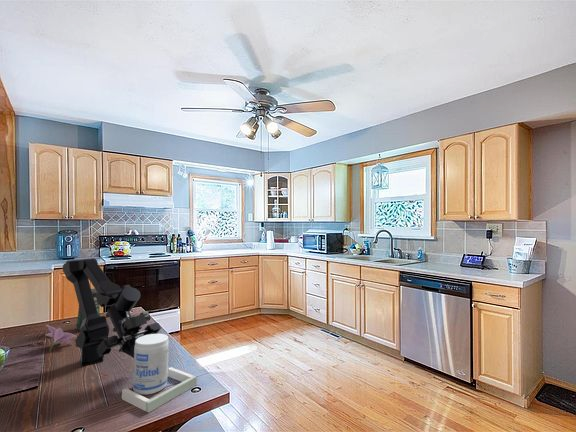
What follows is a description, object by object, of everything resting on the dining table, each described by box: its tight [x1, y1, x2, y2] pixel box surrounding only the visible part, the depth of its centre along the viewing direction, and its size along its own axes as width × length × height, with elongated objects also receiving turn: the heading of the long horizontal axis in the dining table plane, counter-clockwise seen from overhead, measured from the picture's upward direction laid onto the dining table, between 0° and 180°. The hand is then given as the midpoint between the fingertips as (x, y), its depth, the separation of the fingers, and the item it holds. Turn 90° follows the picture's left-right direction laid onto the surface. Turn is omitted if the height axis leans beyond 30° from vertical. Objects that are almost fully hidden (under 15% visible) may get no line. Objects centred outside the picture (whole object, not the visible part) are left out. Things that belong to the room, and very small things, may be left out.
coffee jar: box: [75, 288, 101, 332], centre depth 146 cm, size 10×8×19 cm
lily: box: [45, 324, 77, 352], centre depth 123 cm, size 12×12×10 cm
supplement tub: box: [132, 333, 169, 396], centre depth 94 cm, size 10×10×15 cm
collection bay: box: [121, 366, 198, 413], centre depth 91 cm, size 12×16×2 cm
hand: (142, 361), depth 96 cm, fingers closed, pressing on supplement tub
